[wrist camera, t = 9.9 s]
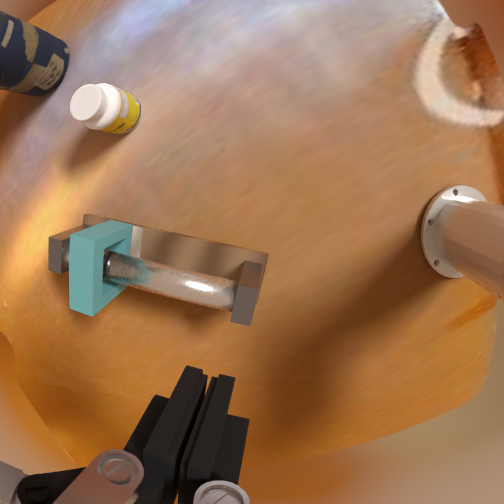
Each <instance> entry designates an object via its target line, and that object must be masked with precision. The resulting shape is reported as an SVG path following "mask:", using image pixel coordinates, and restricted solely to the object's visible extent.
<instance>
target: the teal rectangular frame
mask: <svg viewBox="0 0 504 504" xmlns="http://www.w3.org/2000/svg"><path fill="white" fill-rule="evenodd" d="M132 226H133V225H132V224H127V223H123V222H118V221H114V220H109V221H106V222H104V223H101V224H98V225H95V226H92V227H89V228H87V229H84V230H81V231H78V232H76V233H73V234H70V249H69V302H70V309H72V310H75V311H78V312H81V313H83V314H86V315H89V316H92V317H93V316H94V315H95V314H97V313H98V312H99V311H100V310H101V309H102V308H103V307H105V306H106V305H107V304H108V303H109V302H110V301H112V300H113V299H114V298H115V297H116V296H117V295H119V294H120V293H121V292H122V291H123V290H124V289H126V288H127V285H123V284H120V283H116V282H113V281H109V280H106V279H103V278H102V276H103V257H104V249H106V250H110V251H114V252H118V253H122V254H126V255H130V244H131V235H132Z"/></svg>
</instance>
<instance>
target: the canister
mask: <svg viewBox="0 0 504 504" xmlns="http://www.w3.org/2000/svg"><path fill="white" fill-rule="evenodd" d="M68 62H69V50H68V47H67V45H66V44H65V42H63V41H62V40H61V39H58V38H56V37H54V36H53V35H51V34H49V33H48V32H46V31H44V30H42V29H40V28H38V27H36V26H33V25H30V24H28V23H25V22H23V21H21V20H20V19H17V18H15V17H12V16H10V15H8V14H6V13H4V12H2V11H0V90H8V91H13V92H17V93H23V94H27V95H32V96H40V95H44V94H46V93H48V92H50V91H51V90H52V89H53V88H55V87H56V86H57V84H58V83H59V82H60V81H61V79H62V78H63V76H64V74H65V72H66V69H67V66H68Z"/></svg>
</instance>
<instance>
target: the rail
mask: <svg viewBox="0 0 504 504" xmlns="http://www.w3.org/2000/svg"><path fill="white" fill-rule="evenodd" d="M92 226H93V225H88V224H85V225H82V226H79V227H76V228H73V229H70V230H67V231H64V232H61V233H59V234H56V235H53V236H50V237H49V270H50V271H53V272H56V273H59V274H63V273H64V272H66V271H68V270H69V249H70V234H73V233H76V232H78V231H81V230H84V229H87V228H89V227H92ZM261 268H262V264H260V263H255V262H251V261H245V264H244V267H243V270H242V274H241V277H240V280H239V281H234V280H230V279H226V278H221V277H217V276H212V275H208V274H204V273H200V272H195V271H191V270H187V269H183V268H178V267H174V266H170V265H166V264H162V263H158V262H154V261H150V260H146V259H142V258H138V257H134V256H130V255H126V254H122V253H118V252H114V251H110V250H106V249H104V257H103V276H102V278H103V279H106V280H109V281H113V282H116V283H120V284H123V285H127V286H130V287H134V288H137V289H141V290H145V291H148V292H152V293H156V294H160V295H163V296H167V297H171V298H175V299H179V300H183V301H187V302H191V303H195V304H199V305H203V306H207V307H211V308H216V309H220V310H224V311H229V312H232V316H231V321H230V322H234V323H239V324H243V325H248V326H250V325H251V321H252V316H253V312H254V308H255V304H256V300H257V295H258V291H259V285H260V277H261Z"/></svg>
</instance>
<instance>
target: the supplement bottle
mask: <svg viewBox="0 0 504 504" xmlns="http://www.w3.org/2000/svg"><path fill="white" fill-rule="evenodd" d="M70 111H71V114H72V116H73V117H74V118H75V119H76V120H79V121H81V122H82V123H83V125H84V126H86V127H87V128H89V129H93V130H98V131H105V132H110V133H116V134H125V133H128V132H130V131H132V130H133V129H134V128H135V127H136V126H137V125H138V123H139V122H140V120H141V117H142V105H141V103H140V101H139V99H138V98H137V97H135V96H134V95H132V94H130V93H128V92H125V91H123V90H121V89H119V88H117V87H114V86H112V85H110V84H106V83H101V84H97V85H93V84H87V85H84V86H82V87H80V88H79V89H78V90H77V91H76V92H75V93H74V95H73V97H72V99H71V103H70Z"/></svg>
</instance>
